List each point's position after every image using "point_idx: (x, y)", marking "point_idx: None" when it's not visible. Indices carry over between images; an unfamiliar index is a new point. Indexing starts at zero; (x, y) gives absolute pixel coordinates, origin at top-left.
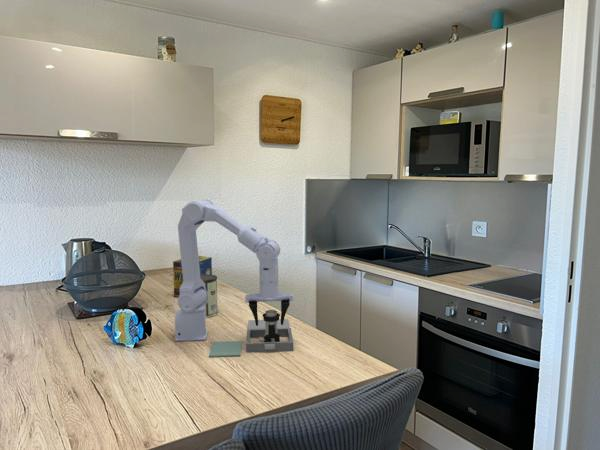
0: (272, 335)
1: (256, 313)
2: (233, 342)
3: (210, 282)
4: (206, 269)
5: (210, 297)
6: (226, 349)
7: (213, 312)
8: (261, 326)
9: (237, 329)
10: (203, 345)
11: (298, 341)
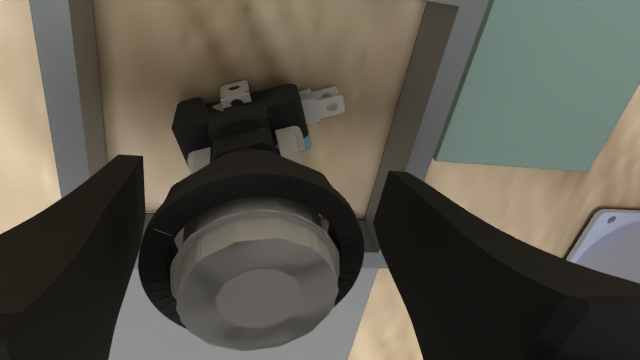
0: (241, 109)
1: (476, 236)
2: (491, 142)
3: None
4: None
5: None
6: (577, 29)
7: None
8: None
9: (400, 322)
10: (633, 146)
11: (13, 111)
